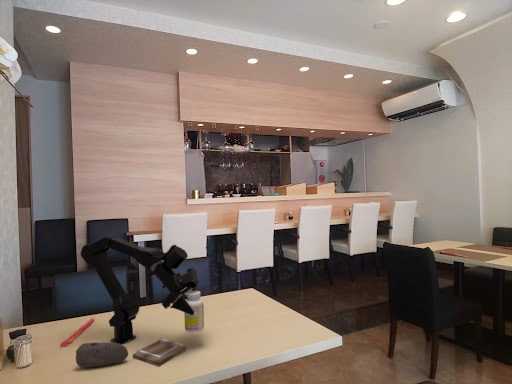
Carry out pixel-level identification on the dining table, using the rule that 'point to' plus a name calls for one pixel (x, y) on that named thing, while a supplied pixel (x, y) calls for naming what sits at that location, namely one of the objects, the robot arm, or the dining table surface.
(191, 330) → the supplement bottle
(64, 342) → the chopstick
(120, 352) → the perforated stone tool
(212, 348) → the dining table surface
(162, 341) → the seat plate
